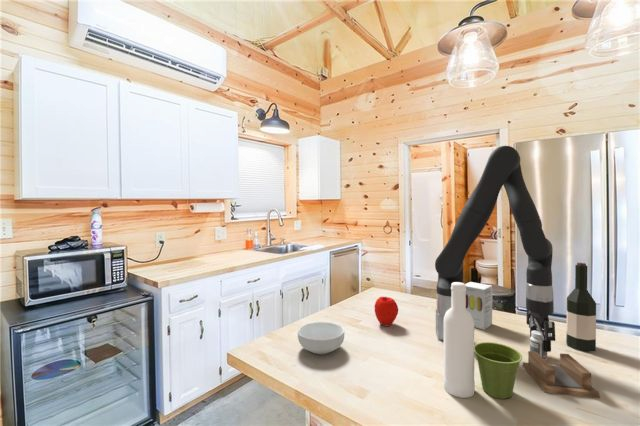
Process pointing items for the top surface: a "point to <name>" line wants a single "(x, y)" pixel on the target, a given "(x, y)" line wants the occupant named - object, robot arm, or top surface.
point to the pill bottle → (537, 344)
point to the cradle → (560, 376)
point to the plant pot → (497, 368)
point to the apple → (386, 310)
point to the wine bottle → (581, 314)
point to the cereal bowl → (321, 337)
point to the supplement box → (479, 304)
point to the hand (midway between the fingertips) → (540, 345)
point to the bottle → (458, 345)
